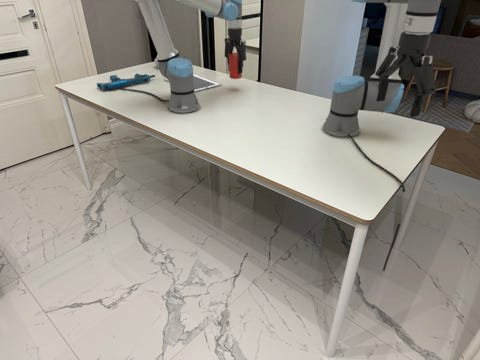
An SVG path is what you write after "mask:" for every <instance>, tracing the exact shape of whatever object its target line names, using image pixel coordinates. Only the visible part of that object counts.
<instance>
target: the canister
mask: <svg viewBox="0 0 480 360" xmlns="http://www.w3.org/2000/svg"><path fill="white" fill-rule="evenodd" d="M238 61H239V58H238V54H237V52H233V53H230V54H229V71H228V72H229V78H230V79H231V80H239V79H242V77H243V75H242V73H243V72H242V73H240V74H238Z"/></svg>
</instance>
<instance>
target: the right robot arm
mask: <svg viewBox="0 0 480 360" xmlns="http://www.w3.org/2000/svg"><path fill="white" fill-rule="evenodd" d="M350 1H351V2H352V3H360V4H363V3H372V4H373V3H378V4H379V3H381V4H384V5H385V7H386V11H385V17H384V22H383V28H382V33H381V37H380V43H379V44H380V45H379V50H378V53H377V54H378V55H377V60H376V66H375V71H374V73H373V74H372V75H371V76H370V77H369V81H367V80H366V79H365V77H363V76H361V75H345V76H341V77H339V78H337V79H336V80H335V81H334V83H333V88H332V96H331V101H330V107H329V112H328V115H327V117H326V118H325V121H324V123H323V126H322V130H323V132H324V133H325V134H326V135H329V136H332V137H335V138H339V139H341V138H342V139H349V138H350V139H351V141H352V142H353V144H354V145H355V146H356V148H357V149H358V151H359V152H360V153H361V154H362V155H363V156H364V158H366V159H367V160H368V161H369V162H370V163H371V164H372V165H374V166H376V167H378V168H379V169H381V171H384V172H385V173H387V174H388V175H390V176H391V177H393V178H394V179H395V180H396V181H397V182H398V183H399V184H400V186H401V188H402V192H403V193H406V187H405V185H404V182H403V181H402V180H401V179H399V177H397V176H396V175H395V174H394V173H392V172H390V171H389V170H387V169H386V168H384V167H383V166H381V165H380V164H378V163H376V162H375V161H373V160H372V159H371V158H370V157H368V155H366V154H365V152H364V151H363V150H362V148H361V147H360V146H359V144H358V143H357V142H356V140H355V138H354V137H356V136H357V135H359V132H360V125H359V118H358V117H359V116H358V114H359V111H365V112H377V113H387V114H388V113H394V112H395V111H396V110H397V109H398V108H399V105H400V103H401V101H402V98H403V95H404V90H405V84H404V83H402V82H401V81H402V78H401V77H400V75H399V72H400V68H405V69H406V70H410V73H412V75H413V80H414V82H415V85H416V88H417V91H418V93H416V94H415V96H414V100H413V103H412V107H411V110H410V113H409V117H410V118H414V117H419V116H420V113H421V110H422V107H423V106H424V105H426V100H427V97H428V95H434V94H436V92H437V90H436V80H435V68H434V63H435V58H436V57H435V56H434V55H426V51H427V49H428V48H429V45H430V41H431V37H432V35H431V33H432V32H433V31H434V28H435V24H436V21H437V17H438V13H439V9H440V5H441V2H442V0H350ZM400 226H401V223H398V224H397V226H396V229H395V232H394V236H393V239H392V242H391V245H390V247H389V250H388V253H387V256H386V259H385V262H384V264H383V268H382V271H383V272H385V271H386V268H387V265H388V261H389V260H390V256H391V252H392V250H393V248H394V244H395V242H396V239H397V237H398V233H399V229H400Z"/></svg>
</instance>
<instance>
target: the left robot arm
mask: <svg viewBox="0 0 480 360" xmlns="http://www.w3.org/2000/svg"><path fill="white" fill-rule="evenodd" d="M134 1H135V2H137V4H138V7H139V9H140V12H141V14H142V17H143V19H144V22H145V25H146V27H147V30H148V32H149V35H150V38H151V40H152V43H153V46H154V48H155V50H156V53H157V55H156V58H155V59H157V61H158V64H159V65H158V66H159V69H158V70H159V72H160V74H161V76H162V77H163V78H164V79H167V80H169V81H170V82H169V81H168V82H169V89H170V96H169V97H170V98H169V99H162V98H161V97H159V96H158V95H155V94H154V93H151V92H149V91H144V90H139V89H132V88H125V87H117V88H116V89H115V90H123V91H129V92H130V91H131V92H138V93H144V94H147V95H150V96H152V97H155V98H156V99H158V100H160V102H168V110H169V111H170V112H172V113H175V114H188V113H193V112H196V111H198V110H199V108H200V103H199V100H198V98H197V95H196V92H194V79H193V74H194V66H193V63H192V61H191V60H189V59H187V58H184V57H181V55H180V51H179V50H178V49H176V48H175V46H174V44H173V41H172V38H171V35H170V32H169V29H168V27H167V25H166V21H165V18H164V16H163V13H162V10H161V7H160V4H159V1H158V0H134ZM175 1H177V2H179V3H182V4H184V5H187V6H189V7H192V8H194V9H197V10H199V11H202V12H204V14H205V16H206V17H207V18H218V19H222V20H225V21H227V36H228V37H225V38H224V39H223V40H224V55H223V56H224V58H226V59H227V67H228V72H229V54H230V53H234V49H235V50H236V53H237V54H238V58H239V61H238V74H240V73H243V68H244V62H245V61H247V51H246V44H247V41H246V40H242V36H243V13H242V12H243V0H175Z"/></svg>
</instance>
